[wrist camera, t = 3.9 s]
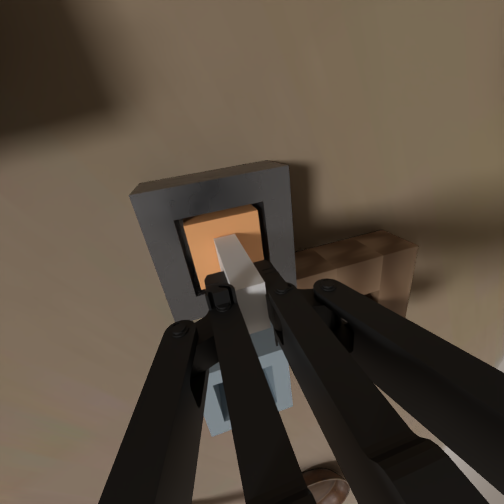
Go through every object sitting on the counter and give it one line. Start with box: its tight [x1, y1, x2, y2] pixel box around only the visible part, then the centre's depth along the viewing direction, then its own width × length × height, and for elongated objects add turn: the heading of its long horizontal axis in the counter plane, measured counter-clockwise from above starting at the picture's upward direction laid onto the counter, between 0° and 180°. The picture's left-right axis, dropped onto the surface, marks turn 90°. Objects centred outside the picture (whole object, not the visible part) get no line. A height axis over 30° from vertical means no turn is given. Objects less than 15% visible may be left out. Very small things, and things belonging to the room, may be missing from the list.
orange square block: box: [183, 204, 264, 290], centre depth 19 cm, size 5×5×4 cm
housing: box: [129, 160, 297, 322], centre depth 19 cm, size 10×10×4 cm
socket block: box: [295, 230, 419, 318], centre depth 26 cm, size 12×12×4 cm
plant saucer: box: [302, 469, 350, 504], centre depth 46 cm, size 18×18×3 cm
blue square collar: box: [204, 321, 293, 437], centre depth 24 cm, size 8×8×6 cm
